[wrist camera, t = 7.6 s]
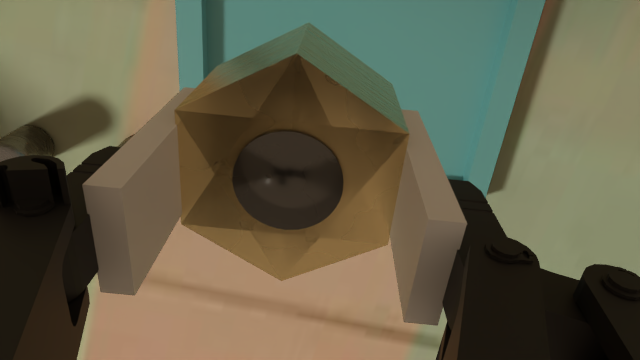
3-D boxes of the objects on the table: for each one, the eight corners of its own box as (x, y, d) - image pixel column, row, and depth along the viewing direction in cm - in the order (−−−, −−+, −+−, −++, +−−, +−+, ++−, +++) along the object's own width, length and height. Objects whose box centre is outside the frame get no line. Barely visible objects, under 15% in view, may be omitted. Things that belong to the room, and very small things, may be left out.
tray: (191, 172, 36) (184, 183, 34) (176, -187, 25) (165, -195, 24) (474, 200, 36) (481, 212, 34) (574, -143, 26) (590, -148, 24)
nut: (218, 197, 18) (183, 273, 14) (216, 12, 15) (168, 41, 11) (370, 213, 18) (378, 292, 14) (401, 31, 15) (423, 67, 11)
